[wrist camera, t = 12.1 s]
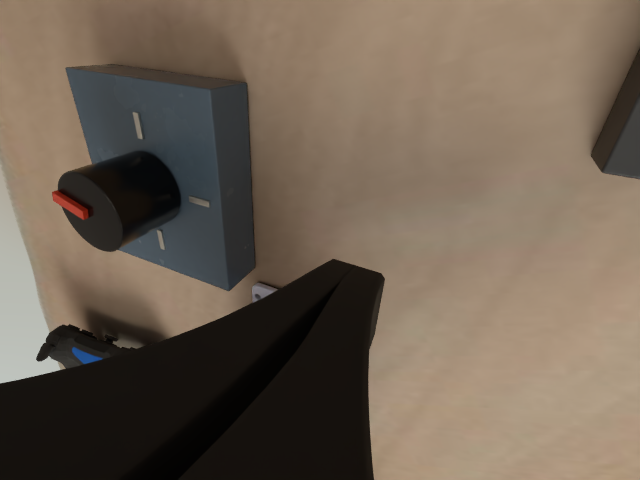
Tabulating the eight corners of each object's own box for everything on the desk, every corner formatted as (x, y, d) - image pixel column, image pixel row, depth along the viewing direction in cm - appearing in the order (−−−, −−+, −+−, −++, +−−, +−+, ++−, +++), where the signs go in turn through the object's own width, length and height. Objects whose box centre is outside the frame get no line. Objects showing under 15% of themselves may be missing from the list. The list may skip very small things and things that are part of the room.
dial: (183, 171, 20) (115, 200, 16) (178, 233, 22) (118, 269, 19) (122, 137, 20) (44, 157, 17) (124, 200, 23) (57, 229, 20)
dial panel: (255, 267, 25) (227, 293, 23) (148, 231, 28) (113, 250, 26) (247, 82, 19) (207, 89, 16) (111, 63, 22) (61, 67, 20)
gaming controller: (216, 375, 39) (157, 349, 31) (191, 432, 36) (119, 420, 28) (113, 338, 46) (42, 309, 38) (85, 384, 43) (3, 363, 35)
